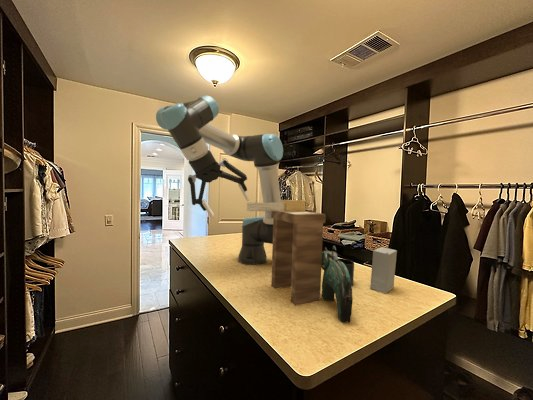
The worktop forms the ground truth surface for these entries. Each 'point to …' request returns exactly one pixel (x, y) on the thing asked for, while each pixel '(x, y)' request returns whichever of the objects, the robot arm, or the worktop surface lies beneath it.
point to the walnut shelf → (298, 254)
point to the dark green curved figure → (337, 284)
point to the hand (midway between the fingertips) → (230, 207)
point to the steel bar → (277, 206)
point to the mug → (349, 267)
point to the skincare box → (383, 269)
